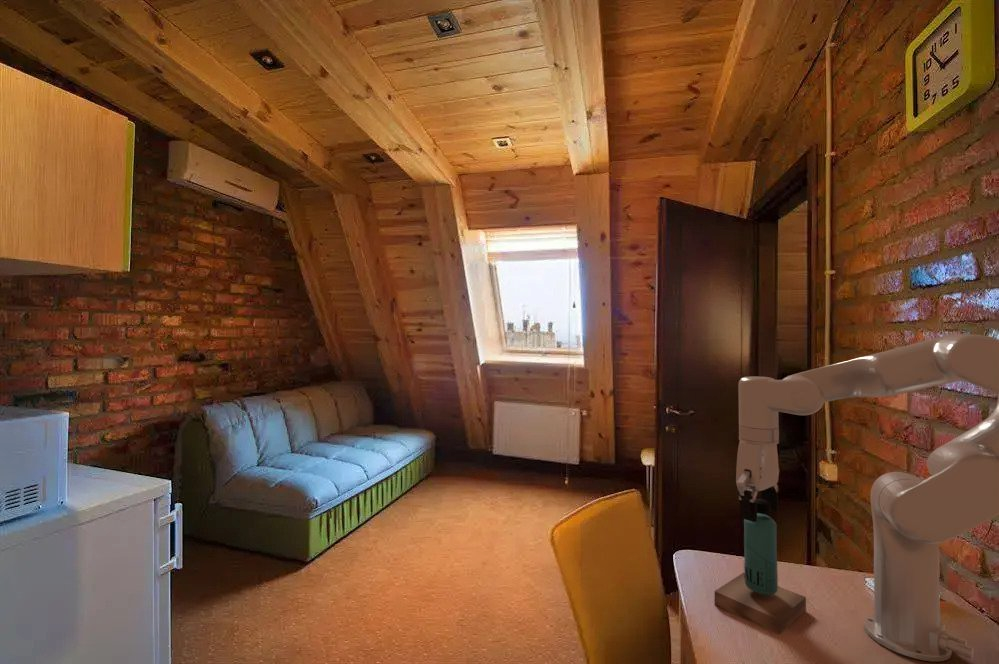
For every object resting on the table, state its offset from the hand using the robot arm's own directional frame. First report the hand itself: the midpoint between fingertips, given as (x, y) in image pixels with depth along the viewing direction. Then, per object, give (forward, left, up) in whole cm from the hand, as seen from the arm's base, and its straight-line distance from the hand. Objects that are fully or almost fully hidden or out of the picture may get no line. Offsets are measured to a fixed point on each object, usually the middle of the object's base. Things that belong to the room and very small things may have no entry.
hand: (759, 514), depth 101 cm
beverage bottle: (0, 0, -17) cm, 17 cm away
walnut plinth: (0, 0, -20) cm, 20 cm away
